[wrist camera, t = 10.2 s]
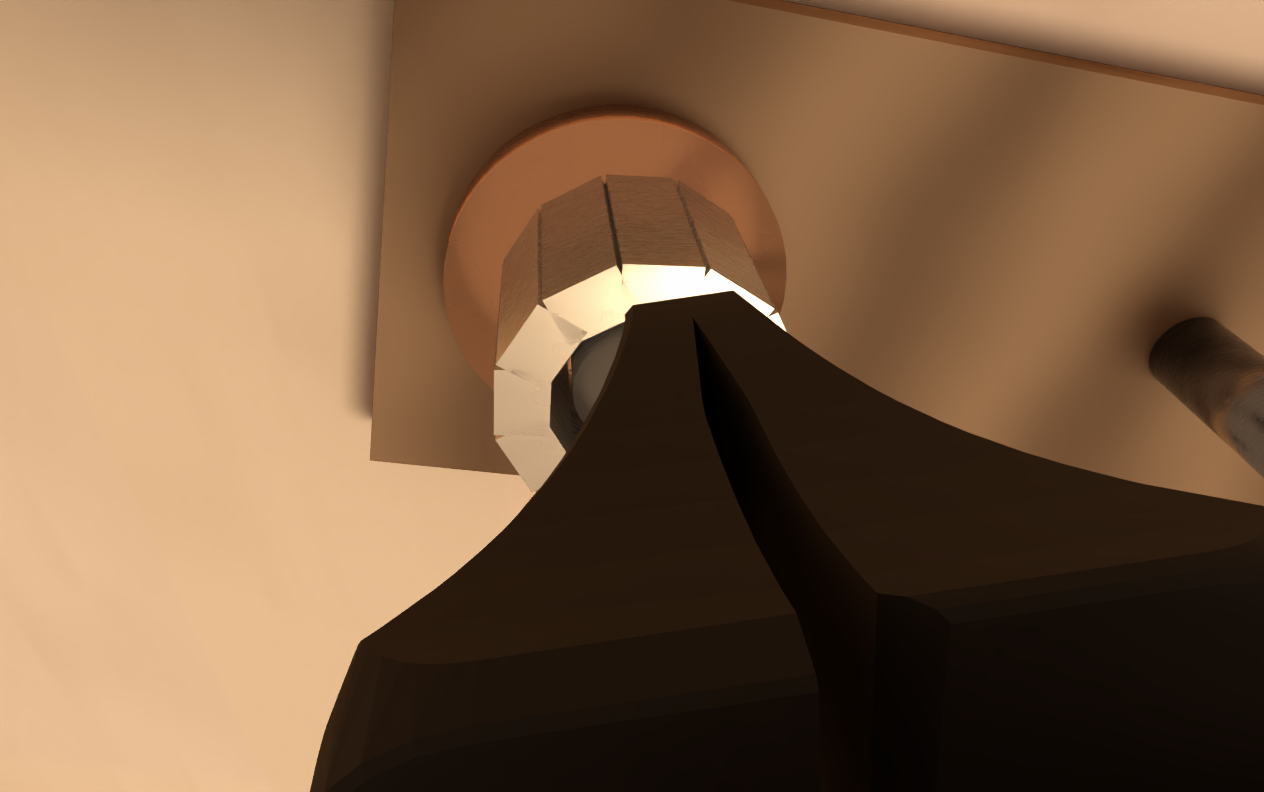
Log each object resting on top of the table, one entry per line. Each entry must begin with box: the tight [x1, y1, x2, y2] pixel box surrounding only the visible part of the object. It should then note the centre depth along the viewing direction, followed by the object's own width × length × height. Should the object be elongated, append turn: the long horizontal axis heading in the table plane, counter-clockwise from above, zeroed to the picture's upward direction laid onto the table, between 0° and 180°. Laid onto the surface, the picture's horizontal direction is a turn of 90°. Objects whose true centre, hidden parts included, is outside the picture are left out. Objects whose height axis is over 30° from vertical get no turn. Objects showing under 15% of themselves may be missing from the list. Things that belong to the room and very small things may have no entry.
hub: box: [443, 105, 787, 423], centre depth 17 cm, size 7×7×5 cm
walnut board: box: [370, 0, 1264, 506], centre depth 21 cm, size 23×11×2 cm, turn 79°
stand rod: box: [1149, 317, 1264, 478], centre depth 20 cm, size 2×2×4 cm
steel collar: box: [494, 174, 786, 492], centre depth 17 cm, size 5×5×4 cm
